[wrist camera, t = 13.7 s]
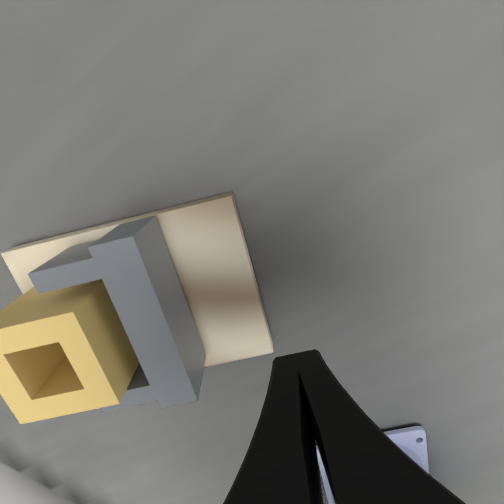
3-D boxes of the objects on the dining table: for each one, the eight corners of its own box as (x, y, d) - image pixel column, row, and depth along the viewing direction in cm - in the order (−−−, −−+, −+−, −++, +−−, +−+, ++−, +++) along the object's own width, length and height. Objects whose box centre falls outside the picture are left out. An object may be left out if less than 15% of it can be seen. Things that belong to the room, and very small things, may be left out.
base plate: (272, 340, 21) (276, 381, 18) (86, 380, 22) (56, 426, 19) (232, 191, 18) (227, 206, 14) (15, 246, 19) (-38, 272, 15)
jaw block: (150, 338, 20) (119, 403, 15) (74, 355, 20) (20, 424, 15) (119, 265, 18) (73, 311, 13) (36, 284, 18) (-38, 337, 14)
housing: (206, 355, 20) (197, 400, 16) (128, 372, 20) (105, 419, 17) (155, 215, 17) (132, 236, 13) (65, 238, 17) (21, 263, 14)
